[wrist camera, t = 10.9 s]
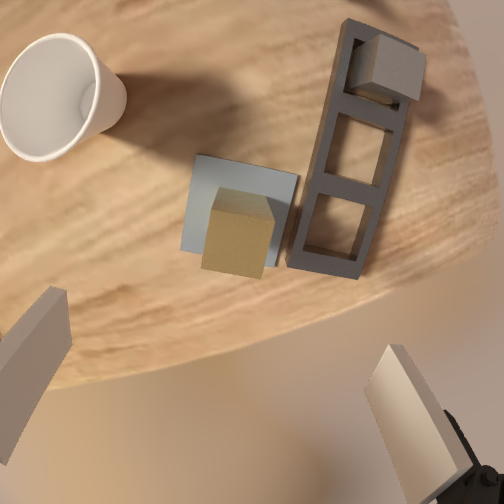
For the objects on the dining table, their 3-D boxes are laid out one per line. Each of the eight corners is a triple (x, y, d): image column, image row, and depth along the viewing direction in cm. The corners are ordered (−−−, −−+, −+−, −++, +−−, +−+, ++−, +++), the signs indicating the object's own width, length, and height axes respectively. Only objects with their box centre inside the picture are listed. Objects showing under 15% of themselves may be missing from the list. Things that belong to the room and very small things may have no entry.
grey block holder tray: (341, 23, 25) (348, 17, 23) (409, 51, 26) (418, 47, 24) (284, 259, 34) (287, 267, 32) (352, 271, 35) (358, 279, 33)
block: (352, 50, 26) (380, 33, 19) (392, 65, 26) (426, 55, 20) (344, 90, 28) (371, 81, 21) (384, 104, 28) (418, 101, 22)
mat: (196, 153, 30) (195, 154, 29) (297, 174, 31) (297, 175, 30) (180, 248, 33) (180, 250, 33) (273, 266, 34) (274, 267, 34)
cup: (101, 40, 24) (47, 12, 14) (166, 91, 27) (129, 74, 17) (47, 115, 27) (-19, 118, 17) (105, 168, 30) (49, 189, 19)
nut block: (219, 186, 31) (211, 209, 22) (265, 196, 31) (275, 222, 23) (210, 230, 32) (200, 268, 24) (255, 239, 33) (260, 279, 24)
